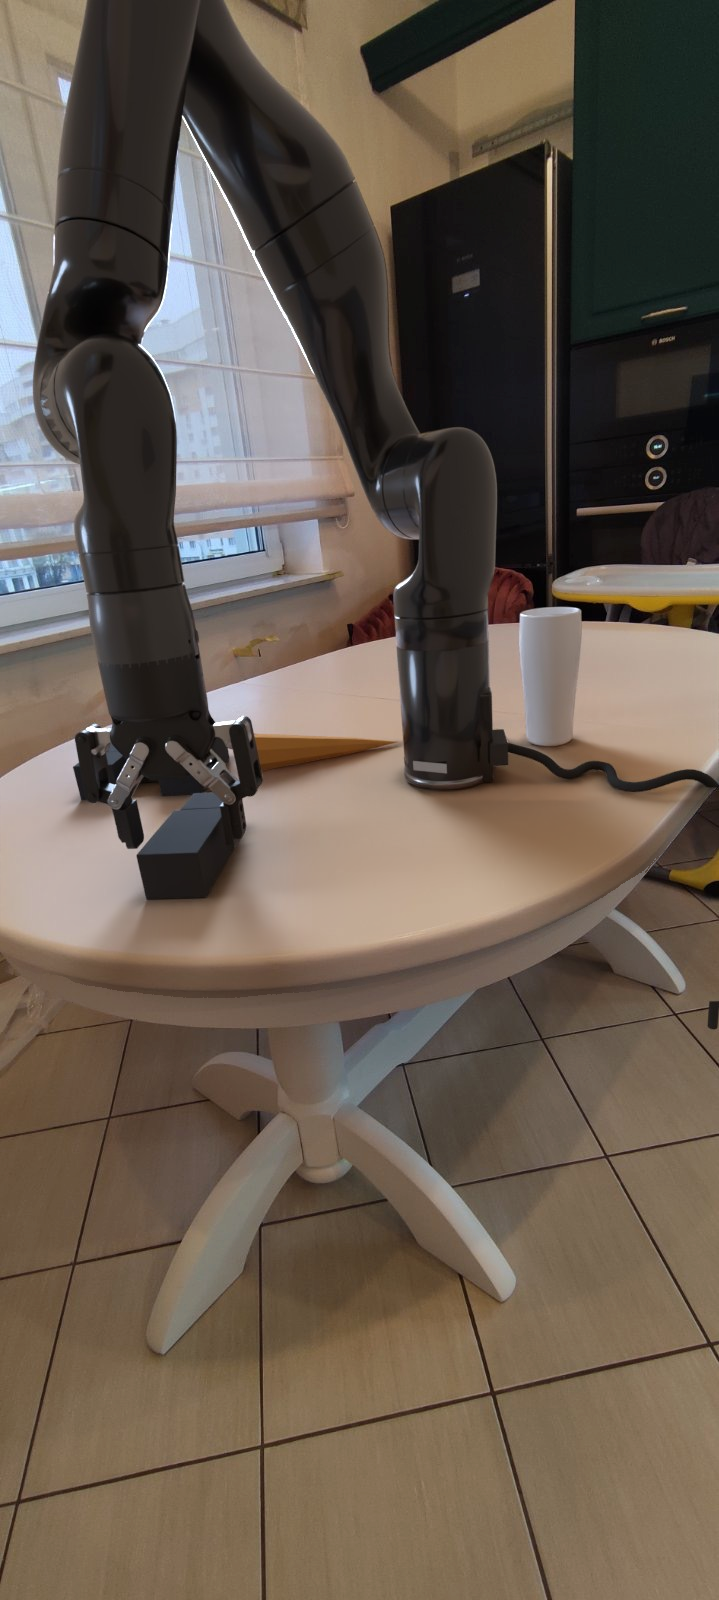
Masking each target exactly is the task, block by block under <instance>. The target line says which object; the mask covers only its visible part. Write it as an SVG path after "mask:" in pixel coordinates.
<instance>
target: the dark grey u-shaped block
mask: <svg viewBox="0 0 719 1600" xmlns="http://www.w3.org/2000/svg"><path fill="white" fill-rule="evenodd" d="M211 749H212V750H213V751H214V752H215V753H216V754H217V755H218V756H219V757H220V758H221V759H222V760H223V761H224V762H225V764H226V765H227V763H228V761H229V760H230V753H229V748H227V747H226V746H225V743H224V741H223V740H222V739H221V738H219V737H217V738H216V740H215V742H214V743H213V745H212V747H211ZM106 755H107V762H108V768H109V774H110V780H111V784H114V785H116V780H117V779H118V777H119V775H120V773H121V771H122V769H123V767H124V765H125V763H126V762H127V760H126V759H125V758H124V757H123V756H122V755H121V754H120V753H119V752H118V750H117V749H116V748H115V747H114V746H113V745H112V743H110V750H109V751H108V752H106ZM72 769H73V774H74V777H75V780H76V785H77V789H78V792H79V793H78V794H79V797H80V800H81V801H87V800H86V798H85V794H84V788H83V783H82V777H81V772H80V766H79V762H76V764H75V765H73V766H72ZM157 782H158V788H159V791H160V796H161V797H170V796H189V795H190V796H192V794H193V793H204V791H205V790H206V789H207V787H204V786H202V785H201V784H200V783H199V782H198V781H197V780H196V779H195V778H194V777H193V776H192V775H191V776H189V777H188V778H187V779H174V778H169V777H166V778H163V779H160V780H149V778H147V777H145V776H144V777H143V779H142V780H141V781H140V783H157Z"/></svg>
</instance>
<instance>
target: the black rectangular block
mask: <svg viewBox="0 0 719 1600" xmlns="http://www.w3.org/2000/svg"><path fill="white" fill-rule="evenodd" d="M221 804H222V801H221V800H220V799H219V798H218V797H217V796H216V795H215V794H214V793H213V792H212V791H211V792H202V793H193V794H192V795H190V797H189V798H188V799H187V800H186V801H185V803H184V804H183V805H182V806H181V808H179V809H174V810H173V811H172V812H171V813H170V815H169V816H168V817H167V818H166V819H165V821H164V822H163V823H162V824H161V825H160V826H159V828H157V830H156V832H154V834H153V835H151V837H150V838H149V839H148V841H147V842H146V843H145V844H144V845H143V846H142V848H140V850H139V851H138V852H137V854H136V856H135V857H136V860H137V865H138V870H139V874H140V877H141V878H140V879H141V882H142V887H143V892H144V896H145V899H146V900H171V899H203V898H207V897H208V895H209V893H210V892H211V890H212V888H213V886H214V884H215V883H216V881H217V880H218V878H219V876H220V874H221V872H222V871H223V870H224V867H225V866H226V864H227V863H228V860H229V859H230V857H231V855H232V853H233V852H234V850H235V849H236V848H235V847H236V846H227V845H226V841H225V835H224V829H223V823H222V817H221V811H220V805H221Z"/></svg>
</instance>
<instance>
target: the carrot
mask: <svg viewBox="0 0 719 1600" xmlns="http://www.w3.org/2000/svg"><path fill="white" fill-rule="evenodd" d="M254 737H255V741H256V746H257V751H258V756H259V761H260V766H261V771H268V770H273V769H278V768H284V767H288V766H294V765H299V764H303V763H310V762H315V761H319V760H324V759H325V760H326V759H329V758H330V759H331V758H335V757H341V756H345V755H351V754H356V753H361V752H364V751H369V750H372V749H376V748H380V747H385V746H388V745H393V744H396V743H398V741H396V740H395V741H394V740H385V739H384V740H383V739H372V738H364V737H363V738H362V737H347V736H346V737H345V736H322V735H321V736H320V735H299V734H298V735H297V734H277V733H276V734H273V733H254Z"/></svg>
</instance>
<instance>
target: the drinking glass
mask: <svg viewBox="0 0 719 1600" xmlns="http://www.w3.org/2000/svg"><path fill="white" fill-rule="evenodd" d="M518 622H519V623H518V624H519V625H518V627H519V628H518V650H519V662H520V673H521V683H522V695H523V707H524V717H525V718H524V719H525V739H526V740H527V741H528V742H529V743H530V744H533V745H535V746H540V747H555V746H556V747H557V746H562V745H565V744H568V743H569V742H570V741H571V740H572V739H573V735H574V718H575V717H574V716H575V708H576V707H575V706H576V699H577V690H578V680H579V671H580V663H581V653H582V640H583V637H582V635H583V631H582V630H583V628H582V627H583V621H582V609H580V608H578V607H572V606H552V607H551V606H550V607H549V606H548V607H547V606H546V607H536V608H530V609H527V610H523V611H521V612H520V613H519V621H518Z"/></svg>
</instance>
